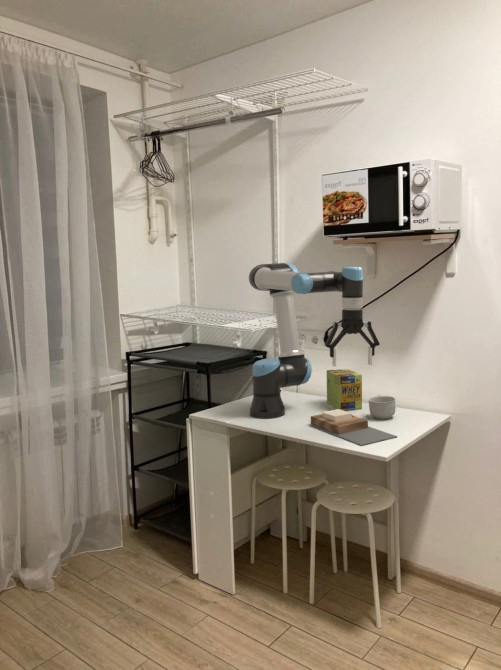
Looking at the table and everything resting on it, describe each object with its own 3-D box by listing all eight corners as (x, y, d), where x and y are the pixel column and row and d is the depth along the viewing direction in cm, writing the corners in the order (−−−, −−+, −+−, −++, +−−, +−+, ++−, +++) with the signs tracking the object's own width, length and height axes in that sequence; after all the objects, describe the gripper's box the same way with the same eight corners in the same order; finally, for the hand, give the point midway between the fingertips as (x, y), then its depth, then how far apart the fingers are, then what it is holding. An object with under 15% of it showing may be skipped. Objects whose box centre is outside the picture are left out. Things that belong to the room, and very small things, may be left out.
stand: (310, 423, 231) (310, 416, 230) (338, 417, 238) (338, 410, 237) (339, 434, 215) (339, 426, 215) (368, 427, 222) (367, 420, 222)
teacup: (395, 421, 231) (395, 402, 230) (367, 420, 234) (367, 401, 233) (396, 412, 244) (396, 394, 243) (370, 411, 247) (369, 393, 246)
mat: (310, 426, 228) (310, 425, 228) (344, 419, 237) (344, 418, 237) (361, 446, 203) (361, 444, 203) (397, 437, 211) (397, 436, 211)
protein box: (340, 411, 248) (340, 376, 246) (326, 403, 263) (325, 370, 261) (362, 409, 251) (362, 374, 249) (347, 401, 266) (347, 368, 264)
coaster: (322, 417, 228) (322, 412, 228) (338, 413, 232) (338, 409, 232) (335, 421, 222) (335, 416, 221) (351, 418, 226) (351, 413, 225)
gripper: (321, 310, 209) (321, 368, 212) (388, 308, 211) (387, 365, 214) (317, 308, 217) (317, 364, 220) (382, 306, 218) (381, 361, 222)
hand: (352, 365), depth 217 cm, fingers open, 13 cm apart
